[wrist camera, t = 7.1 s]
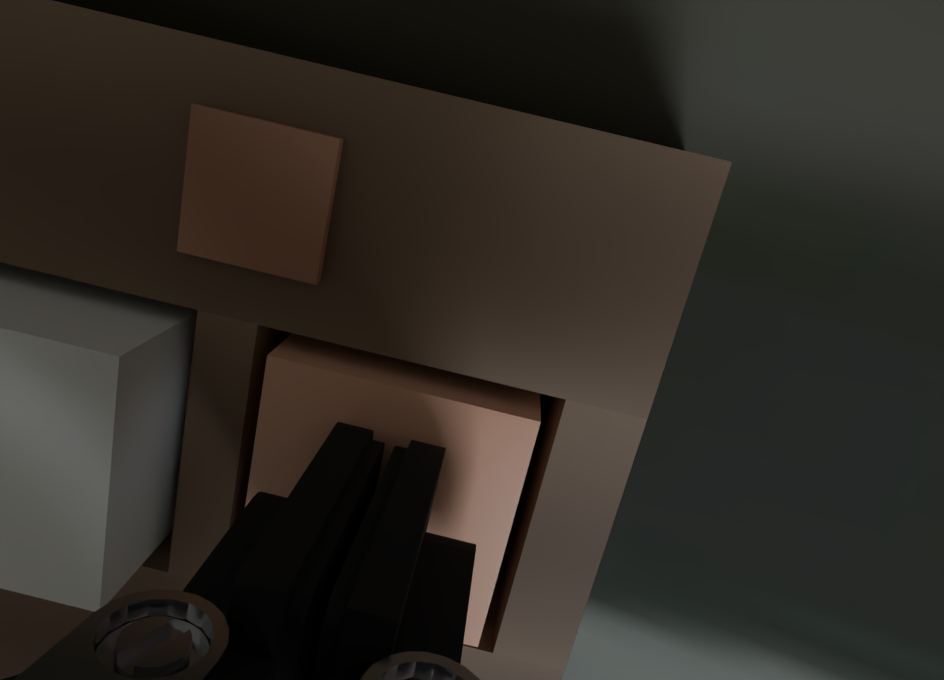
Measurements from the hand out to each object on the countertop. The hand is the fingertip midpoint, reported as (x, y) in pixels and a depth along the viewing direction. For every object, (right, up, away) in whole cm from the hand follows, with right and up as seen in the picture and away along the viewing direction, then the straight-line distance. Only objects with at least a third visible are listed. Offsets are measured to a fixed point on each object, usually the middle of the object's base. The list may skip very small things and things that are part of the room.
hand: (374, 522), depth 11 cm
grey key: (-5, +2, +2) cm, 6 cm away
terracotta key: (0, +1, +3) cm, 3 cm away
